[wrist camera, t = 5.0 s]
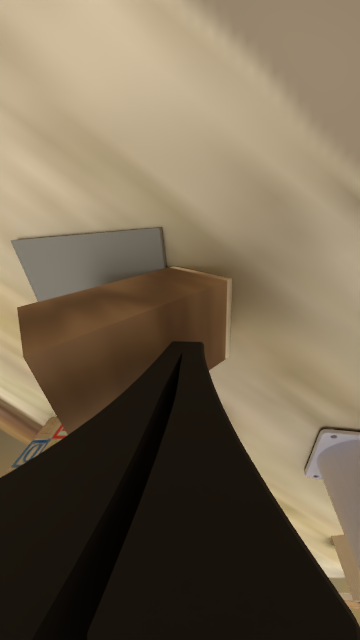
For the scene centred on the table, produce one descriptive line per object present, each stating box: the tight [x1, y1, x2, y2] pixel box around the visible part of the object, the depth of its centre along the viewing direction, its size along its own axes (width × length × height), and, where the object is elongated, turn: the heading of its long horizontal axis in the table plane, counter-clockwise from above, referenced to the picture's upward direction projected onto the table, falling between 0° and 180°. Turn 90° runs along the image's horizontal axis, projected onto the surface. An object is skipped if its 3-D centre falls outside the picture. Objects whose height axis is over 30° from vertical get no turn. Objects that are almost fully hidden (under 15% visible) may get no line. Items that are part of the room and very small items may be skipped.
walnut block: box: [17, 266, 232, 435], centre depth 11 cm, size 5×5×9 cm
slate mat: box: [11, 227, 166, 302], centre depth 16 cm, size 11×10×1 cm
